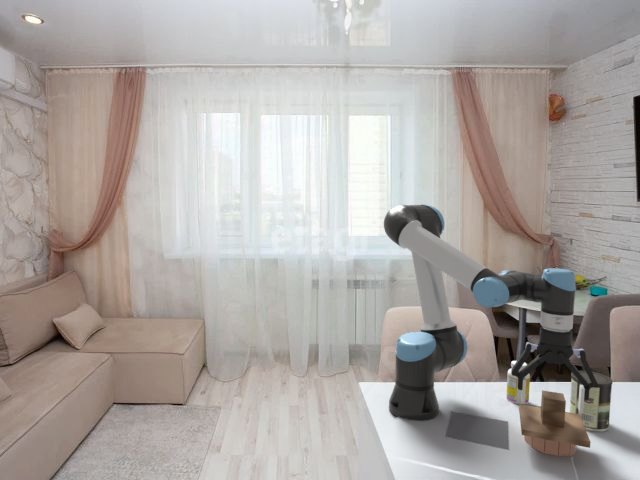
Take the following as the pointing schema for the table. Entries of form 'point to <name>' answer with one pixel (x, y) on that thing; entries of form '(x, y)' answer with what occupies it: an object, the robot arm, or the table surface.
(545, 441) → the terracotta bowl
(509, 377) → the supplement bottle
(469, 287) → the robot arm
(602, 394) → the coffee can
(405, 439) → the table surface
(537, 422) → the walnut lid
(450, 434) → the rubber mat
